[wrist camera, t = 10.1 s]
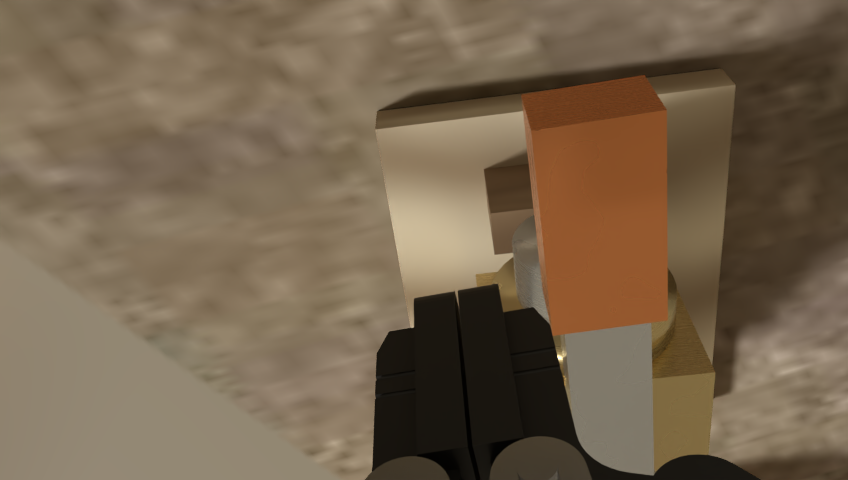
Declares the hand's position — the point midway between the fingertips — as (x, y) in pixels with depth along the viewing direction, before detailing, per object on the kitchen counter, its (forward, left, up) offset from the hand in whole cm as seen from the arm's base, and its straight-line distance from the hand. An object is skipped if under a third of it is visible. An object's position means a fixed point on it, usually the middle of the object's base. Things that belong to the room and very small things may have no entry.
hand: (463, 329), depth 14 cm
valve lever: (+5, +3, -5) cm, 8 cm away
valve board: (+10, +3, -15) cm, 19 cm away
